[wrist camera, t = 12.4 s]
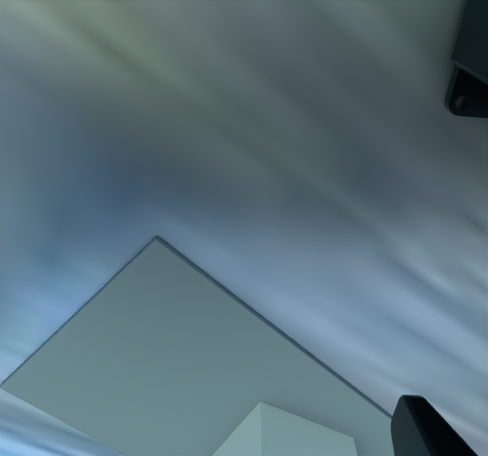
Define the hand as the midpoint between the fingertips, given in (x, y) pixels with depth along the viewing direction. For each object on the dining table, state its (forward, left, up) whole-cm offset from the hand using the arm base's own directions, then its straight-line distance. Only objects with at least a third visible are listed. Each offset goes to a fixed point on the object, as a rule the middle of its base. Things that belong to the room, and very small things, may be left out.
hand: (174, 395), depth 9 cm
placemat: (-2, +16, -12) cm, 20 cm away
